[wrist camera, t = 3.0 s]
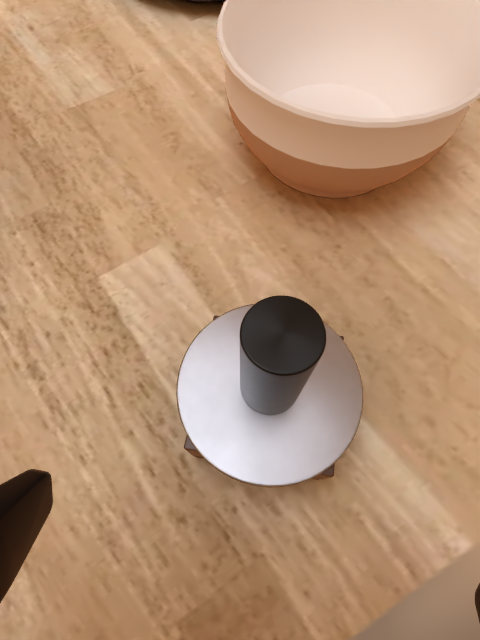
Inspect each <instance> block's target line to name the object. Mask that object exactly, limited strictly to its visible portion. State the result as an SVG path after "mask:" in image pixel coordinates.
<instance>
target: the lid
mask: <svg viewBox="0 0 480 640" xmlns="http://www.w3.org/2000/svg"><path fill="white" fill-rule="evenodd" d="M177 405H178V410H179V415H180V419H181V422H182V424H183V427H184V429H185V432H186V434H187V435H188V437H189V439H190V441H191V443H192V444H193V445H194V447H195V448H196V449H197V451H198V452H199V453H200V454H201V455H202V456H203V457H204V458H205V459H206V460H207V461H208V463H210V464H211V465H212V466H213V467H215V468H216V469H217V470H219V471H220V472H222V473H223V474H225V475H227V476H229V477H230V478H233V479H235V480H238V481H240V482H243V483H246V484H250V485H254V486H262V487H283V486H289V485H294V484H298V483H301V482H304V481H307V480H309V479H311V478H313V477H315V476H317V475H319V474H321V473H322V472H324V471H325V470H327V469H328V468H329V467H331V466H332V465H333V464H334V463H335V462H336V461H337V460H338V459H339V458H340V457H341V456H342V455H343V453H344V452H345V451H346V450H347V448H348V447H349V445H350V443H351V442H352V440H353V438H354V436H355V434H356V431H357V429H358V426H359V423H360V419H361V414H362V407H363V388H362V382H361V376H360V373H359V370H358V367H357V364H356V362H355V360H354V357H353V355H352V353H351V352H350V350H349V348H348V347H347V345H346V344H345V342H344V341H343V340H342V339H341V337H340V336H339V335H338V334H337V333H336V332H335V331H334V330H333V329H332V328H331V327H330V326H328V325H327V324H326V323H325V322H323V321H322V319H321V317H320V316H319V314H318V313H317V312H316V310H314V309H313V308H312V307H311V306H310V305H309V304H307V303H306V302H304V301H302V300H300V299H297V298H294V297H290V296H272V297H268V298H265V299H263V300H261V301H259V302H257V303H256V304H252V305H246V306H242V307H239V308H236V309H233V310H231V311H228V312H226V313H224V314H223V315H221V316H219V317H217V318H216V319H215V320H213V321H212V322H210V323H209V324H208V325H207V326H206V327H205V328H204V329H203V330H202V331H200V333H199V334H198V335H197V336H196V337H195V339H194V340H193V341H192V343H191V345H190V346H189V348H188V349H187V351H186V354H185V356H184V358H183V360H182V363H181V366H180V370H179V374H178V380H177Z"/></svg>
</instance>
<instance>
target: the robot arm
mask: <svg viewBox="0 0 480 640" xmlns="http://www.w3.org/2000/svg"><path fill="white" fill-rule="evenodd" d="M52 504H53V494H52V479H51V475H50V473H49V472H46V471H41V470H36V469H30V470H27V471H25V472H23V473H21V474H20V475H18V476H16V477H14V478H12V479H10V480H8V481H7V482H5V483H3V484H1V485H0V603H1V601H2V599H3V598H4V596H5V595H6V593H7V591H8V590H9V588H10V586H11V585H12V583H13V581H14V579H15V577H16V576H17V574H18V572H19V570H20V568H21V566H22V564H23V562H24V560H25V559H26V557H27V555H28V553H29V551H30V549H31V547H32V545H33V543H34V542H35V540H36V538H37V536H38V534H39V532H40V530H41V528H42V526H43V525H44V523H45V521H46V519H47V517H48V515H49V513H50V511H51V508H52ZM475 605H476V610H477V613H478V617H479V622H480V583H479V585H478V587H477V589H476V592H475Z"/></svg>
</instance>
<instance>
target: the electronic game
mask: <svg viewBox="0 0 480 640" xmlns="http://www.w3.org/2000/svg"><path fill="white" fill-rule="evenodd" d="M188 1H201V2H219V1H226V0H188Z"/></svg>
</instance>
